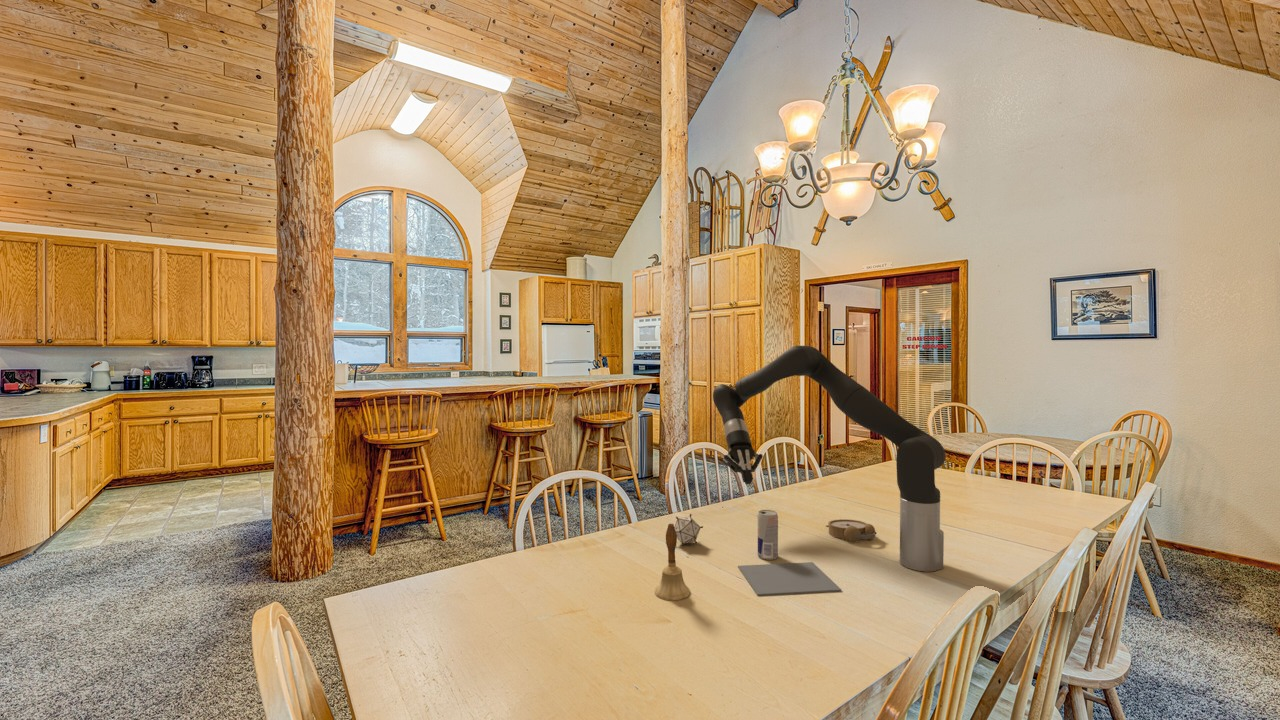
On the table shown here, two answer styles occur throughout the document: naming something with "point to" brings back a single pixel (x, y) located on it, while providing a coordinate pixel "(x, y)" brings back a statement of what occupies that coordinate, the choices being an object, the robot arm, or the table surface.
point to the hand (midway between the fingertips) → (748, 482)
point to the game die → (687, 530)
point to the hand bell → (672, 573)
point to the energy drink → (767, 534)
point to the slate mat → (787, 578)
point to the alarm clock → (851, 530)
